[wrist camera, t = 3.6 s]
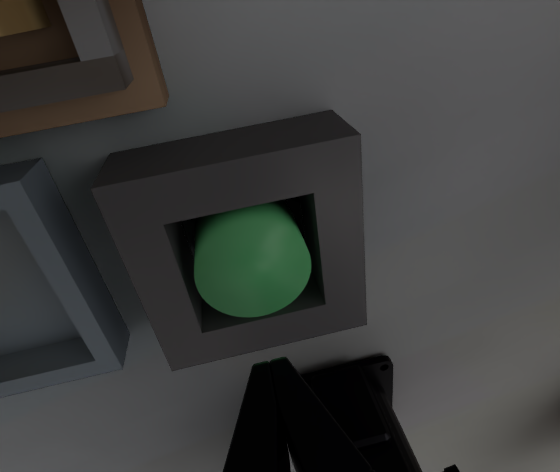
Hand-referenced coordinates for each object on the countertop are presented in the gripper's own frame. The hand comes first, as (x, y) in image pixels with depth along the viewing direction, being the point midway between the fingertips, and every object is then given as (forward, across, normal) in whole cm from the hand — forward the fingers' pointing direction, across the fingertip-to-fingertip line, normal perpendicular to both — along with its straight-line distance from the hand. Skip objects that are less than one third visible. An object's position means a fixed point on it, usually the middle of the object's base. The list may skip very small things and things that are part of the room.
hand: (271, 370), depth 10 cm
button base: (+8, 0, 0) cm, 8 cm away
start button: (+7, 0, 0) cm, 7 cm away
